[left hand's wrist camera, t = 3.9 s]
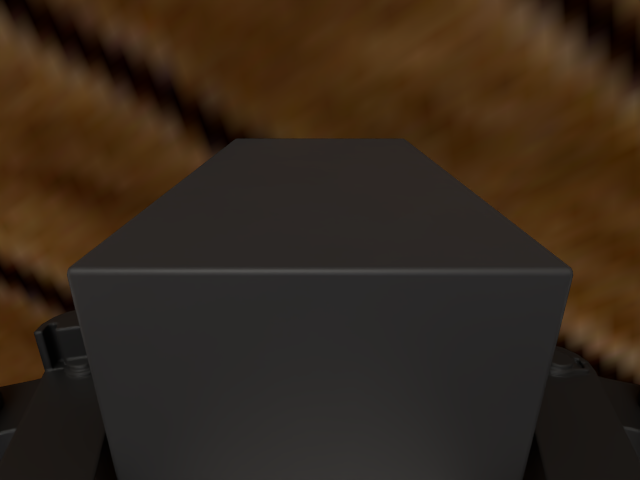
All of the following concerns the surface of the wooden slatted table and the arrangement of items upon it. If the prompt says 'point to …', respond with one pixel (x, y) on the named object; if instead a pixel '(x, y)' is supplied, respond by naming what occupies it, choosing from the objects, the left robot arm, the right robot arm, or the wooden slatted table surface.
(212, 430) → the bar
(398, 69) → the wooden slatted table surface
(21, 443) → the left robot arm
